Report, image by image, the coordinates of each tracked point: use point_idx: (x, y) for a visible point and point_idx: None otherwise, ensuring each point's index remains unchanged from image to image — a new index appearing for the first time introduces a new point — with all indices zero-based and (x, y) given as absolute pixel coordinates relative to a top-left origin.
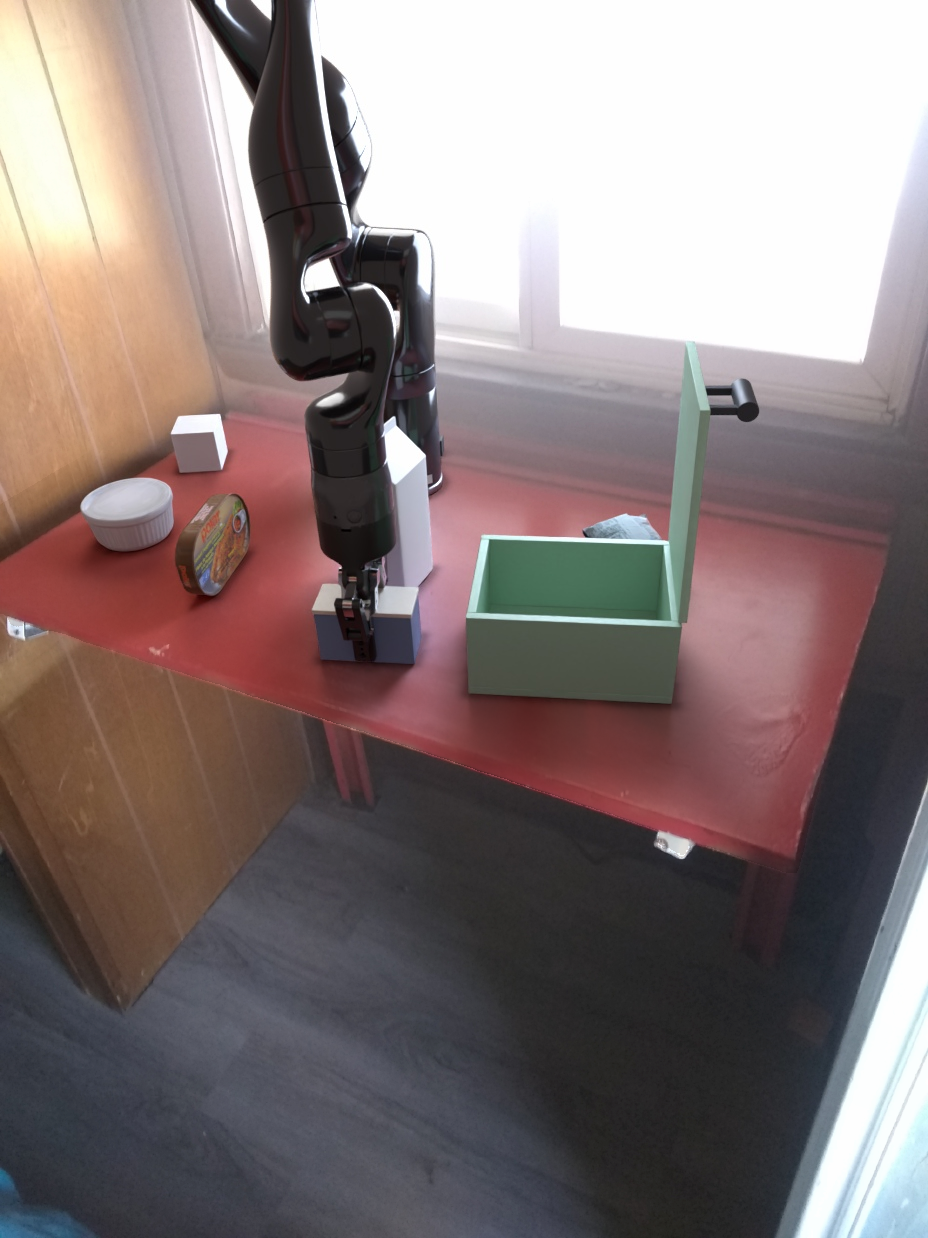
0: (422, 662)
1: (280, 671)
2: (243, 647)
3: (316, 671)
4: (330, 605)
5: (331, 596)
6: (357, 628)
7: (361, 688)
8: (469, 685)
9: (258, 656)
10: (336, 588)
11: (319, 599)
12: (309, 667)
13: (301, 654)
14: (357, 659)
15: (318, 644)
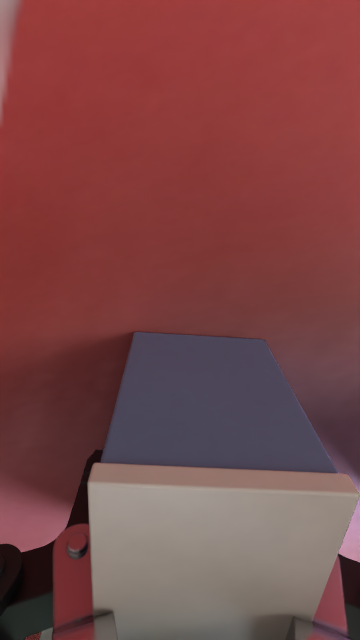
0: None
1: (66, 213)
2: (200, 12)
3: (80, 327)
4: (140, 553)
5: (224, 545)
6: (2, 631)
7: (28, 442)
8: (42, 632)
9: (143, 104)
10: (296, 555)
11: (196, 504)
12: (96, 304)
13: (159, 267)
14: (94, 453)
15: (127, 360)
